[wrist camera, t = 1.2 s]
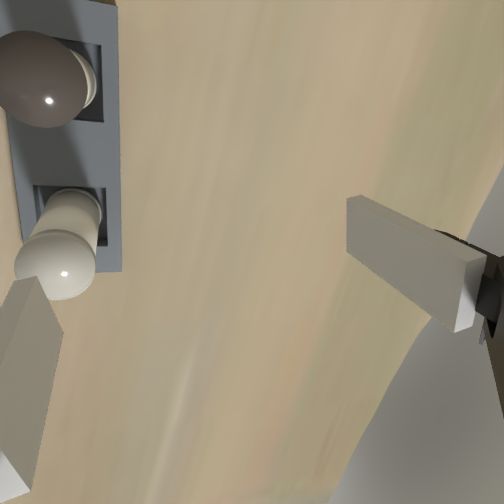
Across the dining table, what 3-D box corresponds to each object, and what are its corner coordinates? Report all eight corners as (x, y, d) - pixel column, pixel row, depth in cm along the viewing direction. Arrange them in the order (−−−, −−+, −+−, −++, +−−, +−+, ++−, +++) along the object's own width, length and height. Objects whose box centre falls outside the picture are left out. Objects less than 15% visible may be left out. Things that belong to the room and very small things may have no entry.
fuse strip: (33, 262, 35) (27, 274, 33) (-1, -12, 26) (-12, -20, 24) (121, 260, 37) (121, 271, 35) (117, 11, 29) (117, 6, 27)
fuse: (49, 233, 34) (19, 302, 23) (44, 184, 32) (9, 236, 22) (102, 233, 35) (96, 297, 25) (100, 187, 33) (93, 236, 23)
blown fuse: (36, 107, 29) (-8, 123, 19) (29, 42, 27) (-23, 21, 17) (98, 113, 31) (88, 131, 21) (95, 52, 29) (83, 39, 19)
